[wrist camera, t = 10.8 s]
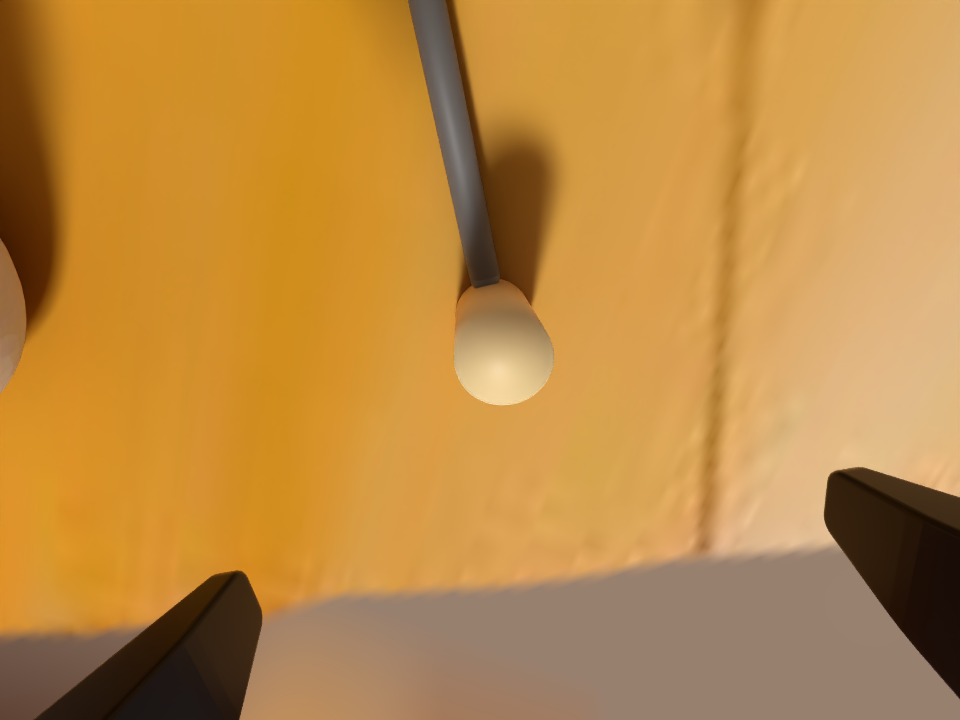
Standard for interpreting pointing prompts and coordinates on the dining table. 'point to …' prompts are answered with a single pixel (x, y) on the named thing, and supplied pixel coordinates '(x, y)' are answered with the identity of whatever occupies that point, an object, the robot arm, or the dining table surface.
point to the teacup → (10, 318)
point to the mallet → (478, 241)
